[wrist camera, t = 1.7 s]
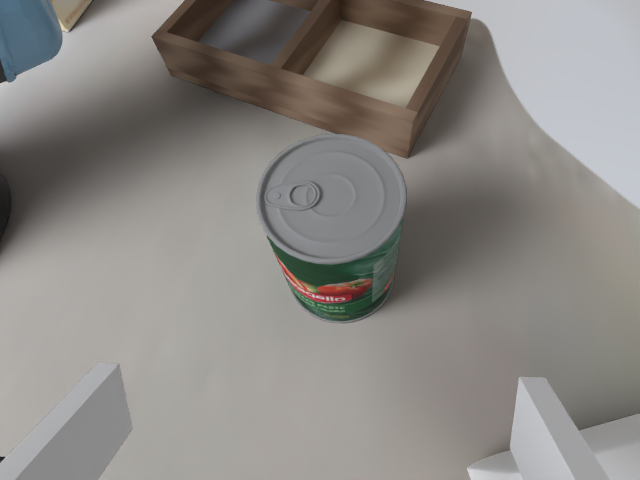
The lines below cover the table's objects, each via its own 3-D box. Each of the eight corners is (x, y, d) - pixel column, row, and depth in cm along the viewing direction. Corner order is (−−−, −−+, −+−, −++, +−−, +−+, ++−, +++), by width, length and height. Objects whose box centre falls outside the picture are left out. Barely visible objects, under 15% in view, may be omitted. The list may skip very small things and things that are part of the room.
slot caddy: (171, 75, 43) (151, 36, 39) (240, -5, 48) (228, -47, 44) (407, 158, 36) (412, 121, 32) (461, 55, 41) (471, 11, 37)
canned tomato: (391, 224, 34) (403, 130, 24) (396, 324, 30) (413, 261, 21) (290, 226, 35) (262, 135, 25) (284, 323, 31) (248, 263, 21)
